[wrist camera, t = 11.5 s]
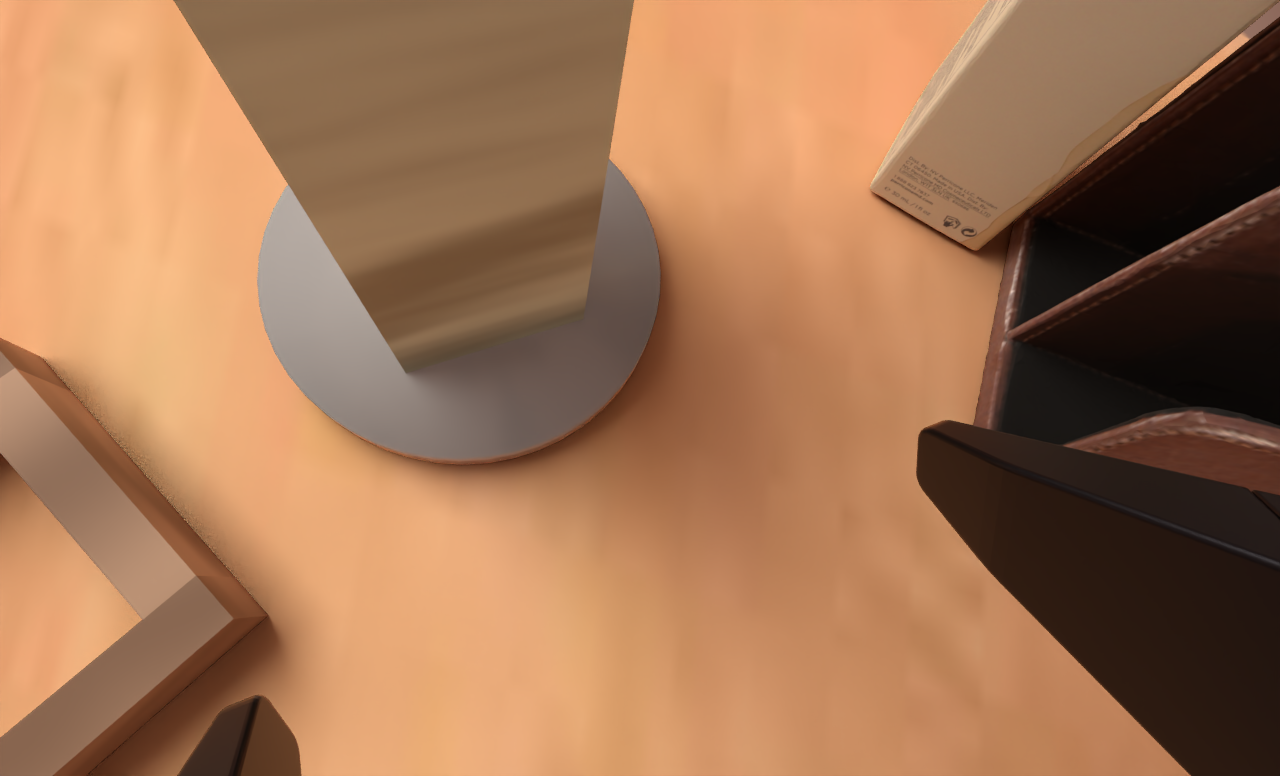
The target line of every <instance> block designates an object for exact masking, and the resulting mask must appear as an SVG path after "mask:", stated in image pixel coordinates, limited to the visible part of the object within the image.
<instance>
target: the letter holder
mask: <svg viewBox="0 0 1280 776" xmlns="http://www.w3.org/2000/svg"><path fill="white" fill-rule="evenodd" d="M973 426H978V427H982V428H986V429H991V430H995V431H999V432H1004V433H1008V434H1013V435H1017V436H1021V437H1026V438H1030V439H1035V440H1039V441H1043V442H1048V443H1052V444H1057V445H1061V446H1065V447H1070V448H1074V449H1078V450H1083V451H1087V452H1092V453H1096V454H1100V455H1105V456H1109V457H1114V458H1118V459H1122V460H1127V461H1131V462H1136V463H1140V464H1144V465H1149V466H1153V467H1158V468H1162V469H1166V470H1171V471H1175V472H1179V473H1184V474H1188V475H1193V476H1197V477H1201V478H1206V479H1210V480H1215V481H1219V482H1223V483H1228V484H1232V485H1237V486H1241V487H1245V488H1247V489H1249V490H1250V491H1253V490H1259V491H1263V492H1268V493H1272V494H1276V495H1280V17H1279V18H1278V19H1276V20H1275V21H1274V22H1272V23H1271V24H1270V25H1269V26H1267V27H1266V28H1265V29H1263V30H1262V31H1261V32H1259V33H1258V34H1257V35H1255V36H1254V37H1253V38H1251V39H1250V40H1249V41H1248V42H1246V43H1245V44H1244V45H1243V46H1241V47H1240V48H1239V49H1237V50H1236V51H1235V52H1234V53H1232V54H1231V55H1230V56H1229V57H1227V58H1226V59H1225V60H1224V61H1222V62H1221V63H1220V64H1218V65H1217V66H1216V67H1214V68H1213V69H1212V70H1211V71H1209V72H1208V73H1207V74H1206V75H1204V76H1203V77H1202V78H1201V79H1199V80H1198V81H1197V82H1195V83H1194V84H1193V85H1191V86H1190V87H1189V88H1188V89H1186V90H1185V91H1184V92H1183V93H1182V94H1181V95H1180V96H1178V97H1177V98H1175V99H1174V100H1173V101H1171V102H1170V103H1169V104H1168V105H1166V106H1165V107H1164V108H1163V109H1161V110H1160V111H1159V112H1157V113H1156V114H1155V115H1153V116H1152V117H1150V118H1149V119H1148V120H1147V121H1145V122H1142V123H1140V124H1139V125H1138V127H1137V128H1136V129H1135V130H1133V131H1132V132H1131V133H1130V134H1128V135H1127V136H1126V137H1125V138H1123V139H1122V140H1121V141H1119V142H1118V143H1117V144H1115V145H1114V146H1112V147H1111V148H1110V149H1108V150H1107V151H1106V152H1104V153H1103V154H1102V155H1101V156H1099V157H1098V158H1097V159H1096V160H1094V161H1093V162H1092V163H1091V164H1089V165H1088V166H1087V167H1085V168H1084V169H1083V170H1082V171H1080V172H1079V173H1078V174H1077V175H1075V176H1074V177H1073V178H1072V179H1070V180H1069V181H1068V182H1066V183H1065V184H1064V185H1062V186H1061V187H1060V188H1058V189H1057V190H1056V191H1054V192H1053V193H1052V194H1050V195H1049V196H1047V197H1046V198H1045V199H1043V200H1042V201H1041V202H1039V203H1038V204H1036V205H1035V206H1033V207H1032V208H1031V209H1028V210H1027V211H1026V212H1025V213H1024V214H1023V215H1022V216H1021V217H1020V218H1019V219H1018V220H1017V221H1016V222H1015V224H1014V225H1013V229H1012V232H1011V238H1010V243H1009V247H1008V252H1007V257H1006V261H1005V266H1004V271H1003V278H1002V281H1001V284H1000V291H999V295H998V303H997V307H996V312H995V316H994V323H993V327H992V332H991V337H990V342H989V351H988V354H987V357H986V362H985V368H984V372H983V380H982V384H981V390H980V395H979V398H978V404H977V409H976V416H975V420H974V424H973Z"/></svg>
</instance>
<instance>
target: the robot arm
mask: <svg viewBox="0 0 1280 776" xmlns="http://www.w3.org/2000/svg"><path fill="white" fill-rule="evenodd" d="M916 475H917V479H918V482H919V485H920V486H921V488H922V490H923V491H924V492H925V494H926V495H927V496H928V497H929V499H930V500H931V501H932V502H933V504H934V505H935V506H936V507H937V508H938V510H939V511H940V512H941V513H942V515H943V516H944V517H945V518H946V520H947V521H948V522H949V523H950V524H951V526H952V527H953V528H954V529H955V531H956V532H957V533H958V534H959V536H960V537H961V538H962V539H963V540H964V542H965V543H966V544H967V545H968V547H969V548H970V549H971V550H972V552H973V553H974V554H975V555H976V556H977V558H978V559H979V560H980V561H981V562H982V563H983V565H984V566H985V567H986V568H987V569H988V570H989V571H990V573H991V574H992V575H993V576H994V577H995V578H996V579H997V580H998V581H999V582H1000V583H1001V584H1002V585H1003V586H1004V587H1005V588H1006V589H1007V590H1008V591H1009V592H1010V593H1011V594H1012V595H1013V596H1014V597H1015V598H1016V599H1017V600H1018V601H1019V602H1020V603H1021V604H1022V605H1023V606H1024V607H1025V609H1026V610H1027V611H1028V612H1029V613H1030V614H1031V615H1032V616H1033V617H1034V618H1035V619H1036V620H1037V621H1038V622H1039V623H1040V624H1041V625H1042V626H1043V627H1044V628H1045V629H1046V630H1047V631H1048V632H1049V633H1050V634H1051V635H1052V636H1053V637H1054V638H1055V639H1056V640H1057V641H1058V642H1059V643H1060V644H1061V645H1062V646H1063V647H1064V648H1065V649H1066V650H1067V651H1068V652H1069V653H1070V654H1071V655H1072V656H1073V657H1074V658H1075V659H1076V660H1077V661H1078V662H1079V663H1080V664H1081V665H1082V666H1083V667H1084V668H1085V669H1086V670H1087V671H1088V672H1089V673H1090V674H1091V675H1092V676H1093V677H1094V678H1095V679H1096V680H1097V681H1098V682H1099V683H1100V684H1101V685H1102V686H1103V687H1104V688H1105V689H1106V690H1107V691H1108V692H1109V693H1110V694H1111V695H1112V697H1113V698H1114V699H1115V700H1116V701H1117V702H1118V703H1119V704H1120V705H1121V706H1122V707H1123V708H1124V709H1125V710H1126V711H1127V712H1128V713H1129V714H1130V715H1131V716H1132V717H1133V718H1134V719H1135V720H1136V721H1137V722H1138V723H1139V724H1140V725H1141V726H1142V727H1143V728H1144V729H1145V730H1146V731H1147V732H1148V733H1149V734H1150V735H1151V736H1152V737H1153V738H1154V739H1155V740H1156V741H1157V742H1158V743H1159V744H1160V745H1161V746H1162V747H1163V748H1164V749H1165V750H1166V751H1167V752H1168V753H1169V754H1170V755H1171V756H1172V757H1173V758H1174V759H1175V760H1176V761H1177V762H1178V763H1179V764H1180V765H1181V766H1182V767H1183V768H1184V769H1185V770H1186V771H1187V772H1188V773H1189V774H1190V775H1191V776H1280V495H1276V494H1272V493H1268V492H1263V491H1259V490H1253V491H1250V490H1249V489H1247V488H1245V487H1241V486H1237V485H1232V484H1228V483H1223V482H1219V481H1215V480H1210V479H1206V478H1201V477H1197V476H1193V475H1188V474H1184V473H1179V472H1175V471H1171V470H1166V469H1162V468H1158V467H1153V466H1149V465H1144V464H1140V463H1136V462H1131V461H1127V460H1122V459H1118V458H1114V457H1109V456H1105V455H1100V454H1096V453H1092V452H1087V451H1083V450H1078V449H1074V448H1070V447H1065V446H1061V445H1057V444H1052V443H1048V442H1043V441H1039V440H1035V439H1030V438H1026V437H1021V436H1017V435H1013V434H1008V433H1004V432H999V431H995V430H991V429H986V428H982V427H978V426H973V425H969V424H964V423H960V422H956V421H951V420H945V421H941V422H938V423H936V424H933V425H931V426H928V427H926V428H924V429H923V430H921V432H920V434H919V437H918V451H917V468H916ZM177 776H301V764H300V754H299V748H298V744H297V741H296V739H295V736H294V734H293V733H292V731H291V730H290V729H289V727H288V726H287V724H286V723H285V722H284V720H283V719H282V718H281V716H280V715H279V713H278V712H277V711H276V709H275V708H274V706H273V705H272V704H271V702H270V701H269V700H268V699H267V698H266V697H264V696H263V695H255V696H252V697H250V698H247V699H245V700H242V701H240V702H237V703H235V704H232V705H230V706H227V707H226V708H224V709H223V710H222V711H221V712H220V713H219V714H218V715H217V716H216V718H215V719H214V721H213V722H212V724H211V725H210V727H209V728H208V730H207V731H206V733H205V734H204V736H203V737H202V739H201V741H200V742H199V744H198V745H197V747H196V748H195V750H194V751H193V753H192V754H191V756H190V757H189V759H188V760H187V762H186V763H185V765H184V766H183V768H182V769H181V771H180V772H179V774H178V775H177Z"/></svg>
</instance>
